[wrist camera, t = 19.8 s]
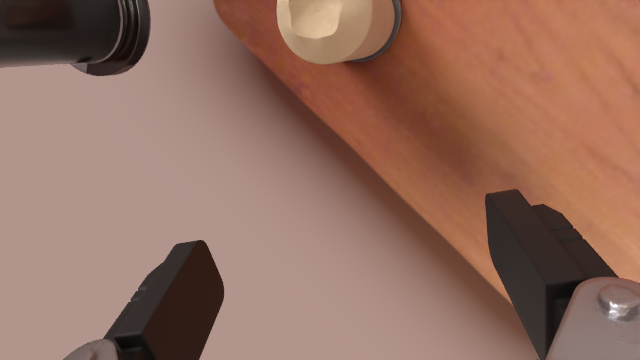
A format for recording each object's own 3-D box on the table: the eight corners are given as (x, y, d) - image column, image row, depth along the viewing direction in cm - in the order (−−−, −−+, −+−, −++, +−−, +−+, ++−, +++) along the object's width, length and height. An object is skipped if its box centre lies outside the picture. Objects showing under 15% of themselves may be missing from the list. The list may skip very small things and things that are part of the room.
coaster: (306, 42, 32) (304, 42, 31) (337, -44, 29) (335, -46, 29) (379, 75, 31) (378, 76, 31) (417, -11, 28) (416, -12, 28)
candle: (411, 24, 29) (388, 17, 20) (351, 73, 31) (307, 86, 22) (365, -40, 28) (321, -78, 19) (308, 14, 31) (245, 4, 22)
